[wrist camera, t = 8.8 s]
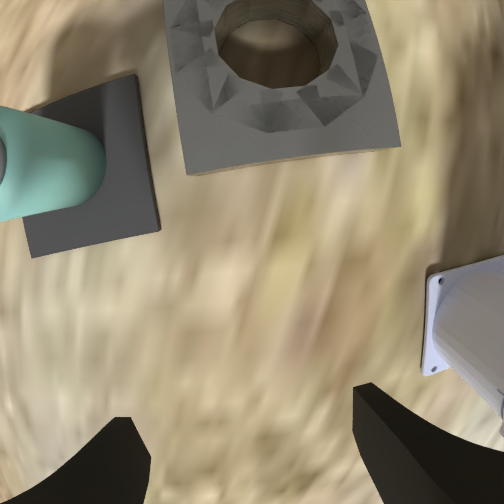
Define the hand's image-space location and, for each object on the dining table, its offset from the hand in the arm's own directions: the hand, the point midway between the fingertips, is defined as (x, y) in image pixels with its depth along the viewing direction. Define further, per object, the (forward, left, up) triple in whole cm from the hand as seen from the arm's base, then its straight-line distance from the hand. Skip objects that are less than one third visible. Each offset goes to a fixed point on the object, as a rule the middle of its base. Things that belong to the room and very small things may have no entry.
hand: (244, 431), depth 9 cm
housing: (-4, -14, -10) cm, 18 cm away
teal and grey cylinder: (+8, -10, -9) cm, 16 cm away
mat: (+8, -10, -10) cm, 16 cm away
